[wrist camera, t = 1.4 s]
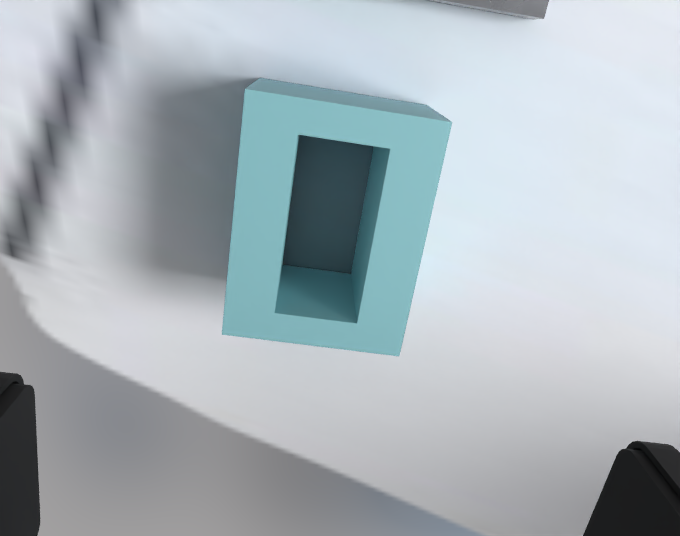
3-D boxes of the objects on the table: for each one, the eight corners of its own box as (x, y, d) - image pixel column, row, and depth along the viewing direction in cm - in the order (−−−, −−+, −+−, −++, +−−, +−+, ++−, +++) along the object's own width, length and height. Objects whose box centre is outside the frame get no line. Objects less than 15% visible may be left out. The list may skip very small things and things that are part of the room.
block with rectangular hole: (259, 77, 24) (244, 88, 19) (426, 105, 24) (452, 122, 20) (238, 282, 27) (221, 334, 22) (386, 301, 28) (398, 356, 23)
